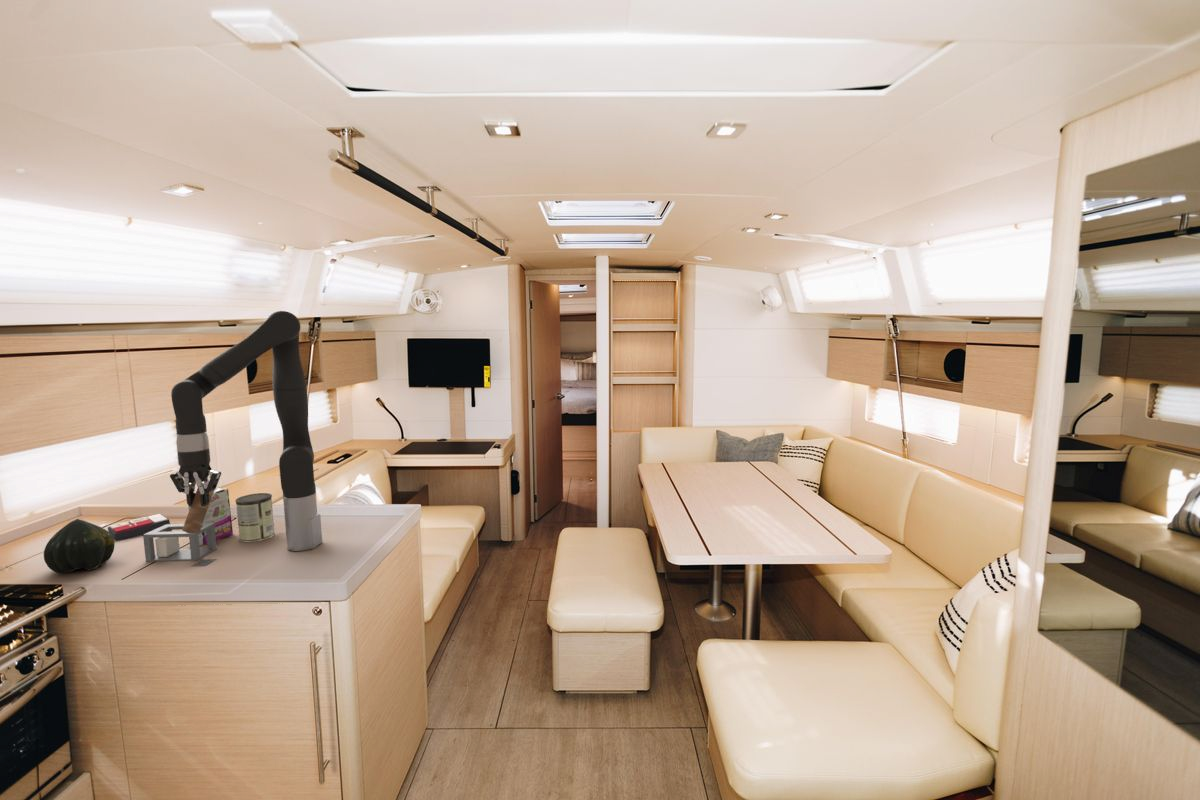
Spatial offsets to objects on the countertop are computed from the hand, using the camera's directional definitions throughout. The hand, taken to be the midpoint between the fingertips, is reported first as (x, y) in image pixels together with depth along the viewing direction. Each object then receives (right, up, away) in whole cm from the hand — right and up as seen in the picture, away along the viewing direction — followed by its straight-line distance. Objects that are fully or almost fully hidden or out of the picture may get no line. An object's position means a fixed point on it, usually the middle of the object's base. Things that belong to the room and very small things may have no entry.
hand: (198, 505), depth 159 cm
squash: (-35, -19, 0) cm, 39 cm away
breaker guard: (-11, -17, +8) cm, 22 cm away
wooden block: (0, -7, -3) cm, 8 cm away
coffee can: (+2, -16, +23) cm, 28 cm away
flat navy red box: (-44, -16, +31) cm, 56 cm away
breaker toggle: (-15, -16, +8) cm, 24 cm away
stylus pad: (0, -18, +2) cm, 18 cm away
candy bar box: (-12, -16, +22) cm, 30 cm away
